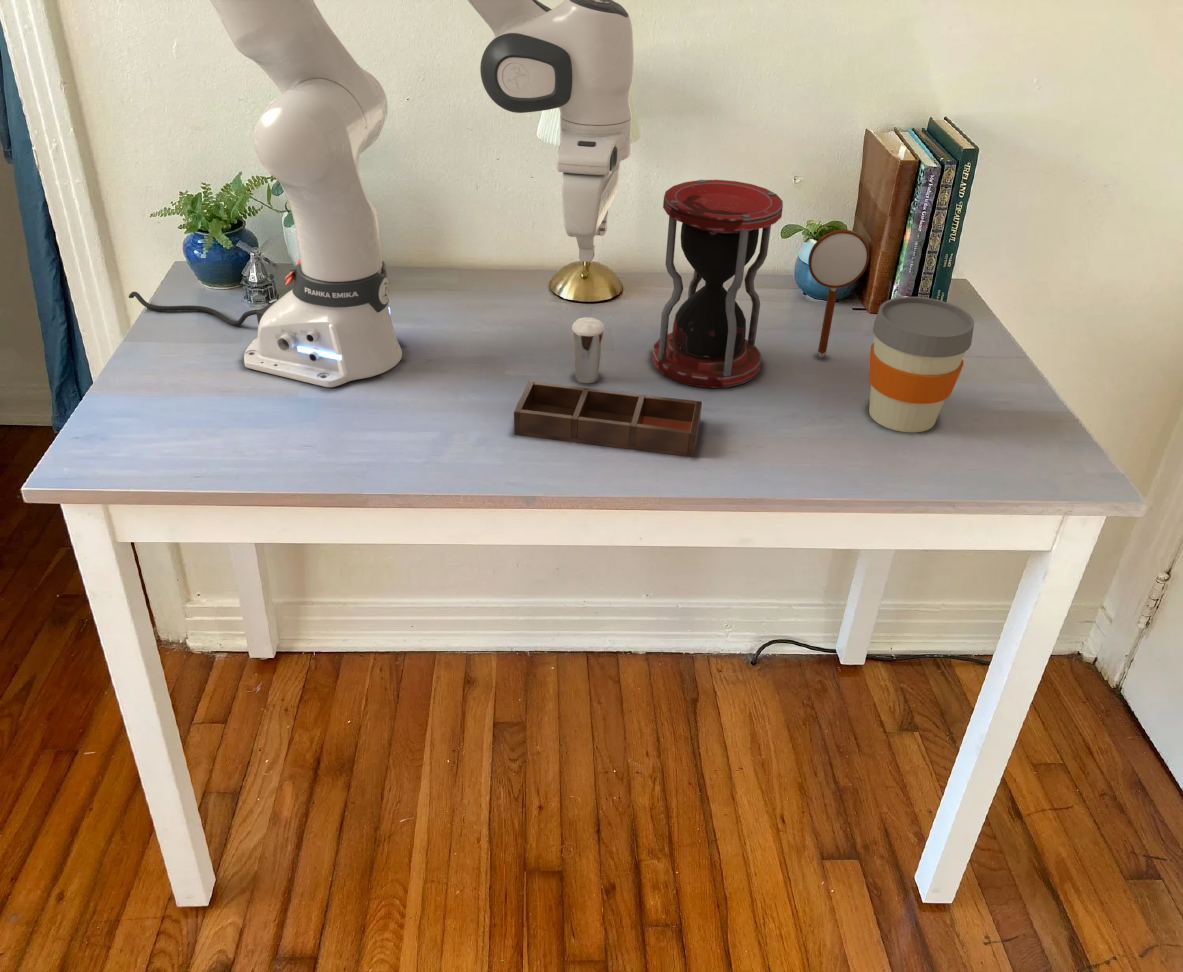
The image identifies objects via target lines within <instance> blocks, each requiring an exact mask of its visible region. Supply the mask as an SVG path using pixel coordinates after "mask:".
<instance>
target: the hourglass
mask: <svg viewBox="0 0 1183 972" xmlns="http://www.w3.org/2000/svg"><path fill="white" fill-rule="evenodd" d="M662 209H663V210H664V212H665V213H666V214H667V216H668V227H667V239H666V253H665V263H664V264H665V268H666V272H667V273H668V275H669V276H670V277H671V279H672V284H673V290H672V293H671V297H670V298H669V299H668V301H667V302H666V303H665V304H664V306H663V309H662V312H661V317H660V330H659V339H658V340H657V341H656V342H655V343H654V344H653V347H652V354H651V361H652V363H653V365H654V367H655V369H656V370H657V371H659V372H660V373H661V374H662V375H663V376H664V377H666V378H668V379H671V380H673V381H675V382H677V383H681V384H684V385H686V386H687V385H688V386H691V387H696V388H697V387H698V388H707V389H718V388H719V389H720V388H730V387H735V386H739V385H743V384H745V383H747V382H748V381H750V380H753V379H754V378H755V377H756V376H757V374H758V373H759V372H760V369H761V363H762V354H761V352H760V350H759V348H758V347H757V346H756V345H755V344H756V339H757V338H756V337H757V331H758V330H757V329H758V324H759V317H760V310H761V309H760V308H761V300H760V296H759V294H758V293H757V291H756V290H755V283H754V282H755V278H756V276H757V272H758V271H759V269H761V267H762V266H763V264H764V263H765V261H766V258H767V256H768V251H769V244H770V238H771V237H770V235H771V229H772V226H773V225H774V224H777V222H778V221H780V219H782V216H783V209H784V201H783V199H782V198H781V197H780V196H779V195H778V194H777V193H775V192H773V191H771V190H769V189H768V188H766V187H762V186H759V185H757V184H753V183H747V182H742V181H737V180H727V179H726V180H725V179H698V180H691V181H684V182H681V183H677V184H675V185H672V186H671V187H669V188H668V189H666V190H665V191H664V195H663V202H662ZM677 222H679V223H681V226H680V227H681V228H680V229H681V230H680V248H681V250H682V253H683V255H684V257H685V259H686V260H687V262H688V263H689V265H690V266H691V267H692V269H693V277H692V278H691V280H690V281H689V285H688V291H687V293H688V294H687V299H686V300H685V301H684V302H683V303H681V305H680V306H679V308H678V309H677V311H676V313H675V316H674V321H673V325H672V331H671V332H670V333H669V323H670V322H669V321H670V315H671V313H672V311H673V309H674V307H675V306H676V305H677V304H678V303H679V301H680V299H681V297H682V294H683V291H684V284H683V283H684V282H683V278H682V275H680V273H679V272H678V271H677V269H676V266H675V263H674V261H675V260H674V259H675V250H676V235H677V224H678V223H677ZM760 229H762V231H761V237H760V244H759V245H760V246H759V253H758V254H757V256H756V258H755V260H754V262H753V263H751V265H750V266H749V267H748V269H747V271H746V274H745V267H746V265H747V264H749V263H750V261H751V260H752V258H753V257H754V256H755V254H756V250H757V246H758V243H759V235H760ZM744 275H745V277H744ZM733 277H734V278H733ZM731 278H733V281H732V283H731V285H730V286H729V287H728V289H726V288H725V287H724V284H725V283H726V282H727V281H729V280H730V279H731ZM702 280H703V281H704V282H705V283H704V285H703V286H702V287H701V288H700V289H698V290H697V288H698V285H699V284H700V282H701V281H702ZM743 280H744V286H745V288H744V289H745V292H746V293H747V294H748V296H749V297H750V300H751V305H752V306H751V313H750V321H749V329H748V335H747V338H746V334H747V320H746V316H745V314H744V311H743V310H742V308H741V306H740V305H739V304H738V302H737V301H736V300H737V299H736V298H737V294H738V291H739V290H740V289H741V287H742V283H743Z"/></svg>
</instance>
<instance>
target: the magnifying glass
mask: <svg viewBox="0 0 1183 972" xmlns="http://www.w3.org/2000/svg"><path fill="white" fill-rule="evenodd" d="M807 260H808V261H807V262H808V263H807V264H808V265H807V266H808V270H809V273H810V275H811V277H812V278H813V279H814V280H815V282H817V283H818V284H819V285H821V286H823V287H826V288H829V289H828V294H827V297H826V298H827V299H826V304H825V310H824V316H823V321H822V327H821V332H820V338H819V343H818V351H817V352H818V353H819V354H818V356H819V358H823V357H825V353H827V350H828V344H829V338H830V332H831V327H832V322H833V316H834V311H835V305H836V300H837V294H838V290H837V289H839V288H844V287H847V286H850V285H851V284H853V283H855V282H857V280H858V279H859V278H861V276H862V275H863V274H864V273H865V271H866V269H867V267H868V266H869V261H870V249H869V246H868V243H867V242H866V240H865V239H864V237H862V235H860V234H859V233H857V232H856V231H853V230H849V229H836V230H832V231H830V232H827V233H825V234H824V235H823V236H821V237H819V239H818V240H817V241H816V242H815V243H814V245H813V246H812V248H811V249H810V251H809V255H808V259H807Z"/></svg>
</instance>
